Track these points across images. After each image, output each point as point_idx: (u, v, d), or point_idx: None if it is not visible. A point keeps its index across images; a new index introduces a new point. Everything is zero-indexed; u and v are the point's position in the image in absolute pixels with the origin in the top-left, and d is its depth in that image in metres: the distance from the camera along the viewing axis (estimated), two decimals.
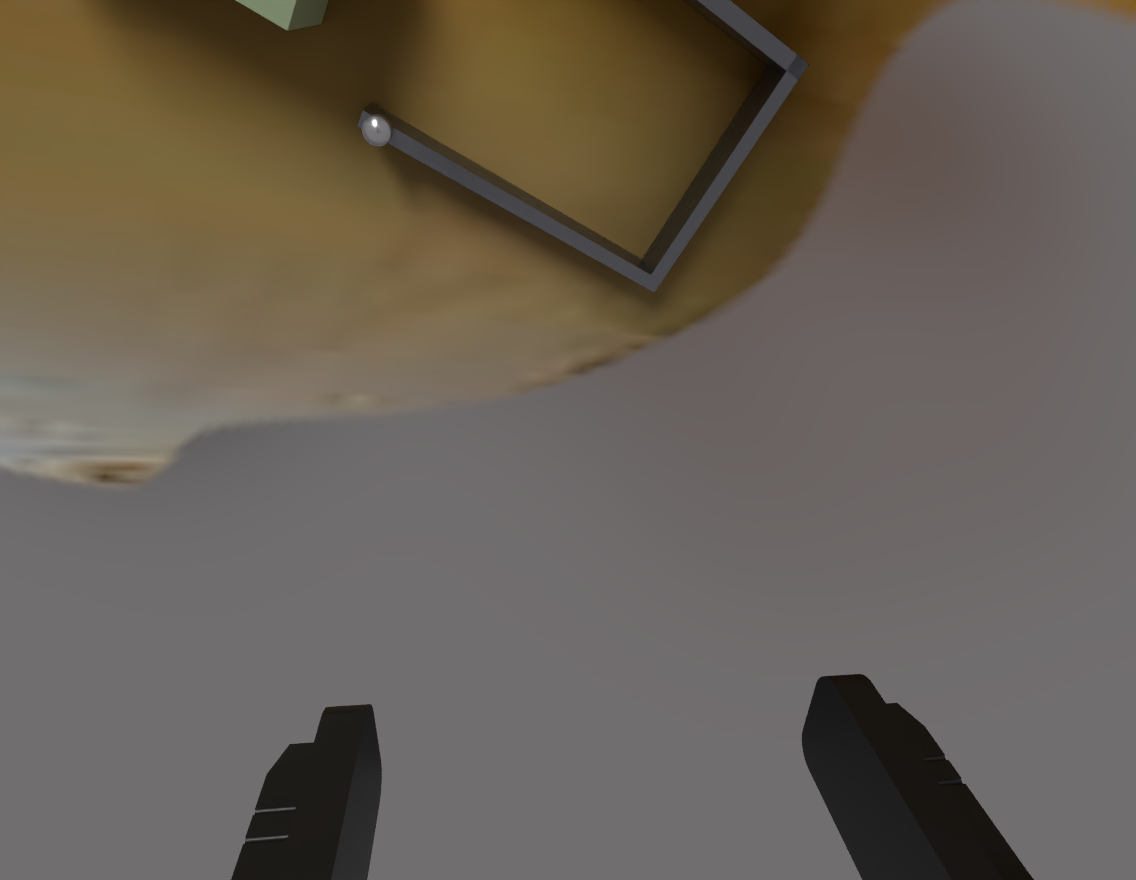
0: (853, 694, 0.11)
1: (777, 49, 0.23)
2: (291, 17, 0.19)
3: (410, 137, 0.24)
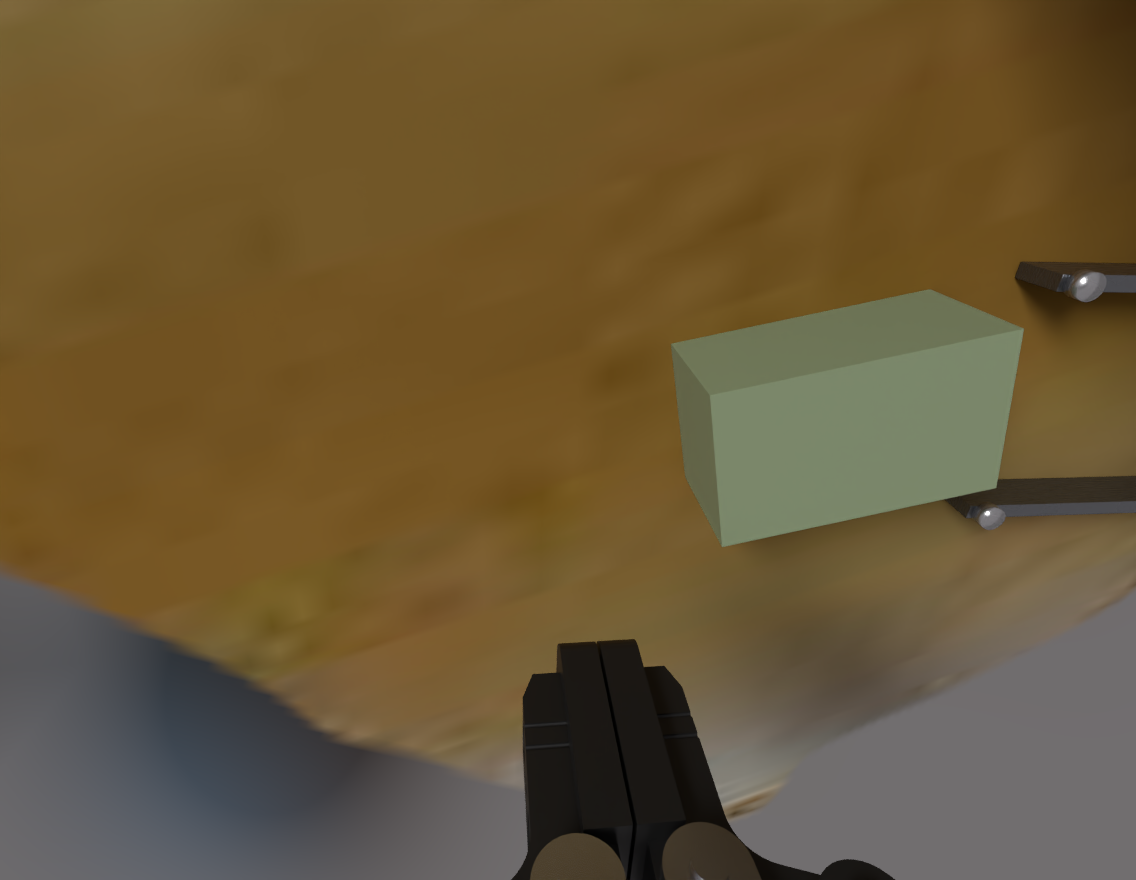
0: (615, 656, 0.11)
1: None
2: (997, 478, 0.22)
3: (1009, 504, 0.27)
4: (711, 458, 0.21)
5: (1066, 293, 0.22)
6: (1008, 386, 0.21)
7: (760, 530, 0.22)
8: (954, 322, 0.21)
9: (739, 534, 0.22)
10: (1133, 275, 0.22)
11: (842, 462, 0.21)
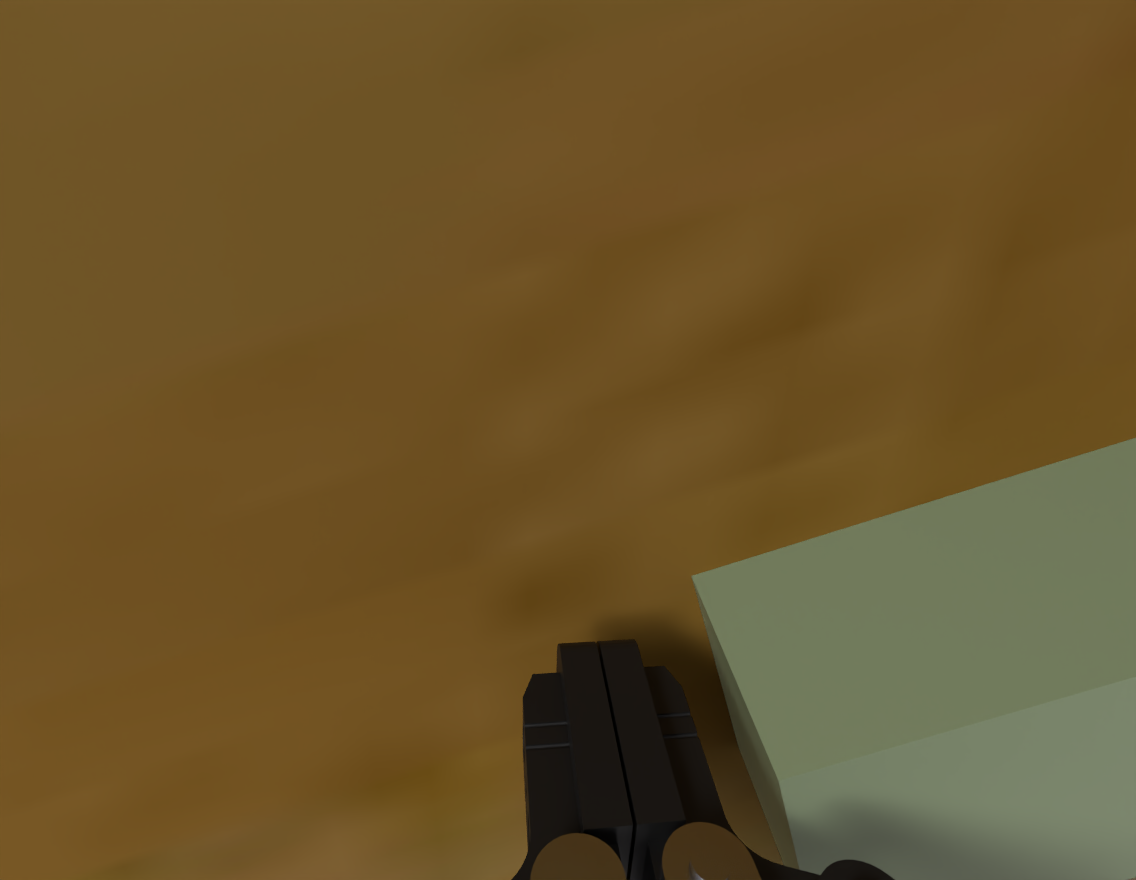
0: (615, 656, 0.11)
1: None
2: None
3: None
4: (789, 841, 0.11)
5: None
6: None
7: None
8: None
9: None
10: None
11: (1051, 830, 0.11)
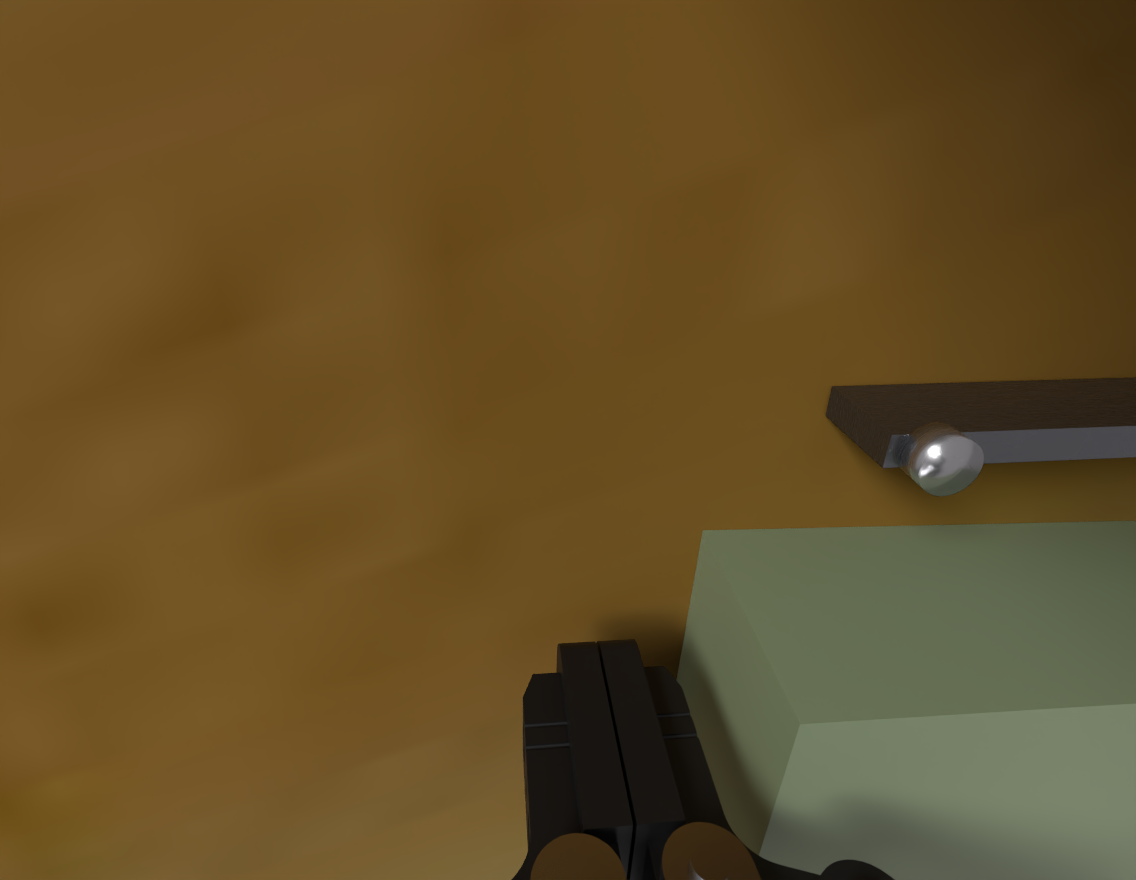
0: (615, 656, 0.11)
1: None
2: None
3: None
4: (754, 804, 0.11)
5: (905, 472, 0.10)
6: None
7: None
8: None
9: None
10: (1051, 428, 0.10)
11: (991, 847, 0.11)
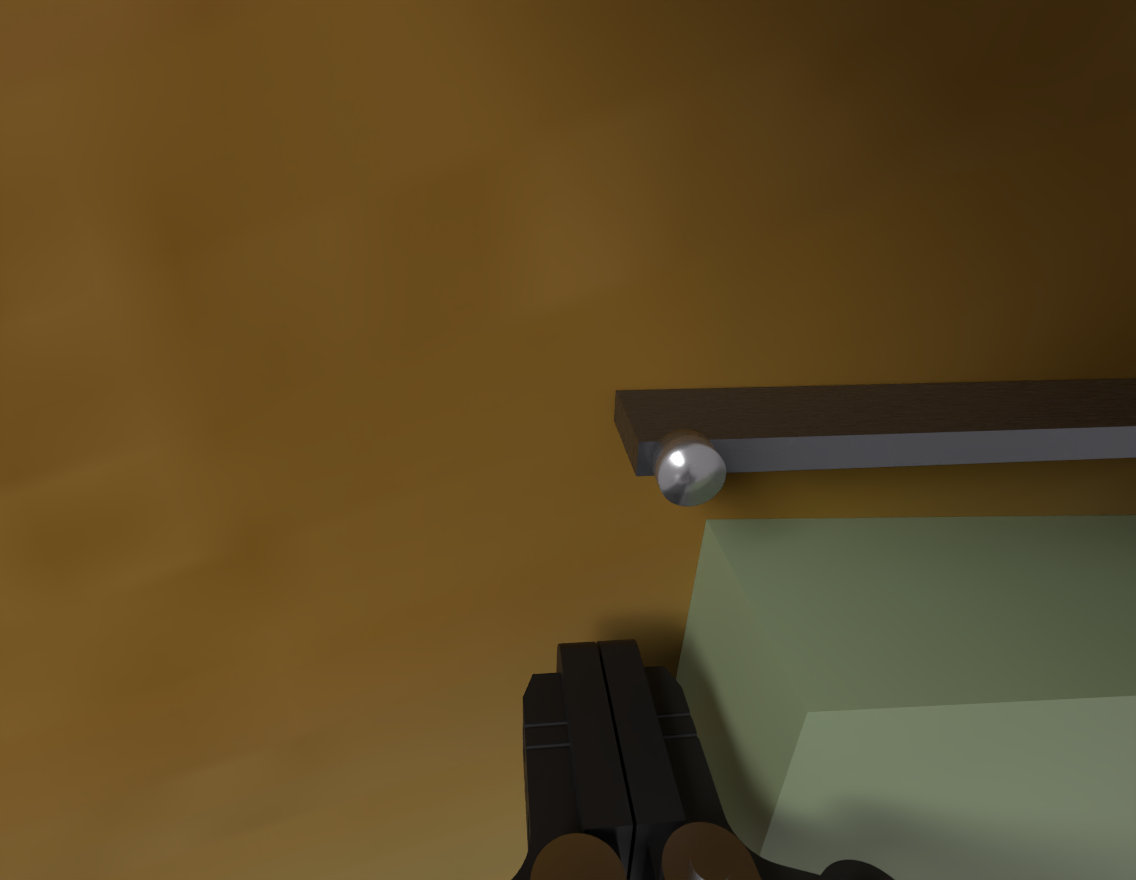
0: (615, 656, 0.11)
1: None
2: None
3: None
4: (758, 796, 0.10)
5: None
6: None
7: None
8: None
9: None
10: (813, 435, 0.10)
11: (996, 841, 0.11)
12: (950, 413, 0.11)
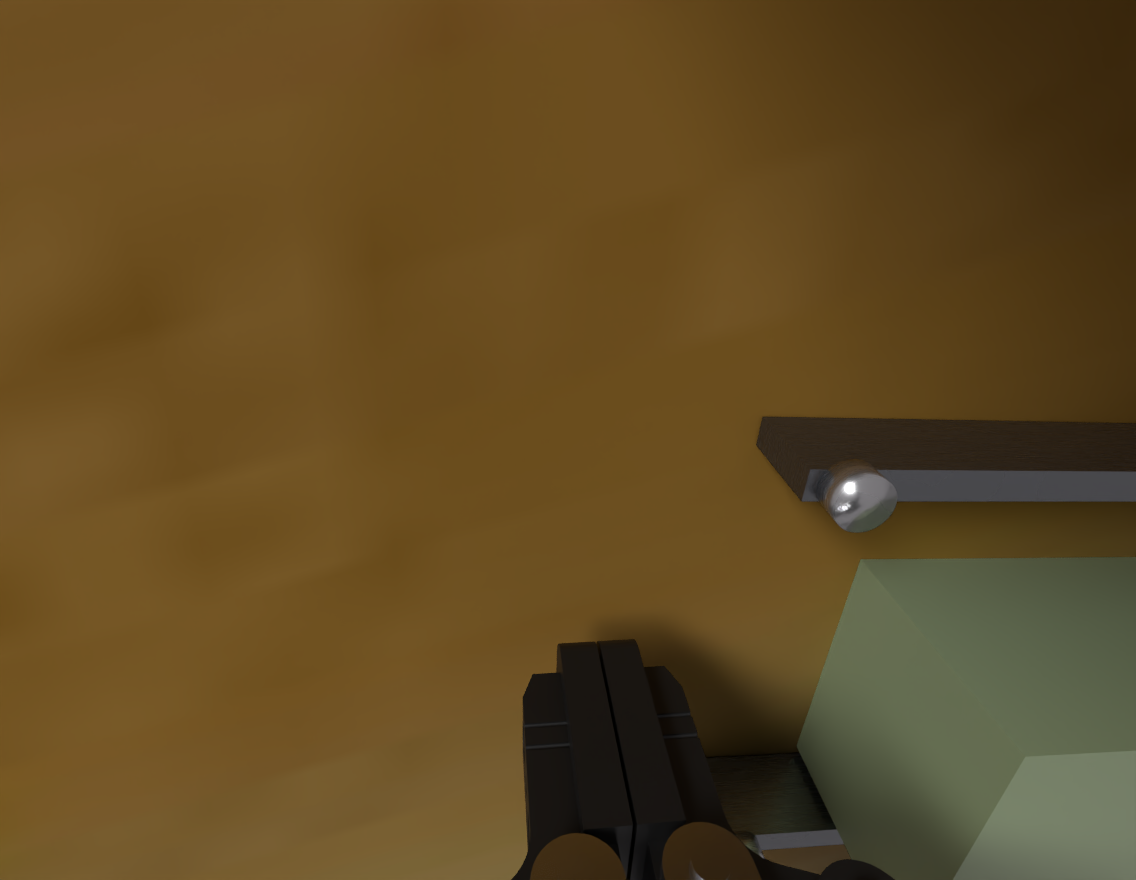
0: (615, 657, 0.11)
1: None
2: None
3: (784, 830, 0.15)
4: (946, 829, 0.11)
5: (823, 506, 0.10)
6: None
7: None
8: None
9: None
10: (968, 469, 0.11)
11: None
12: (1083, 452, 0.11)
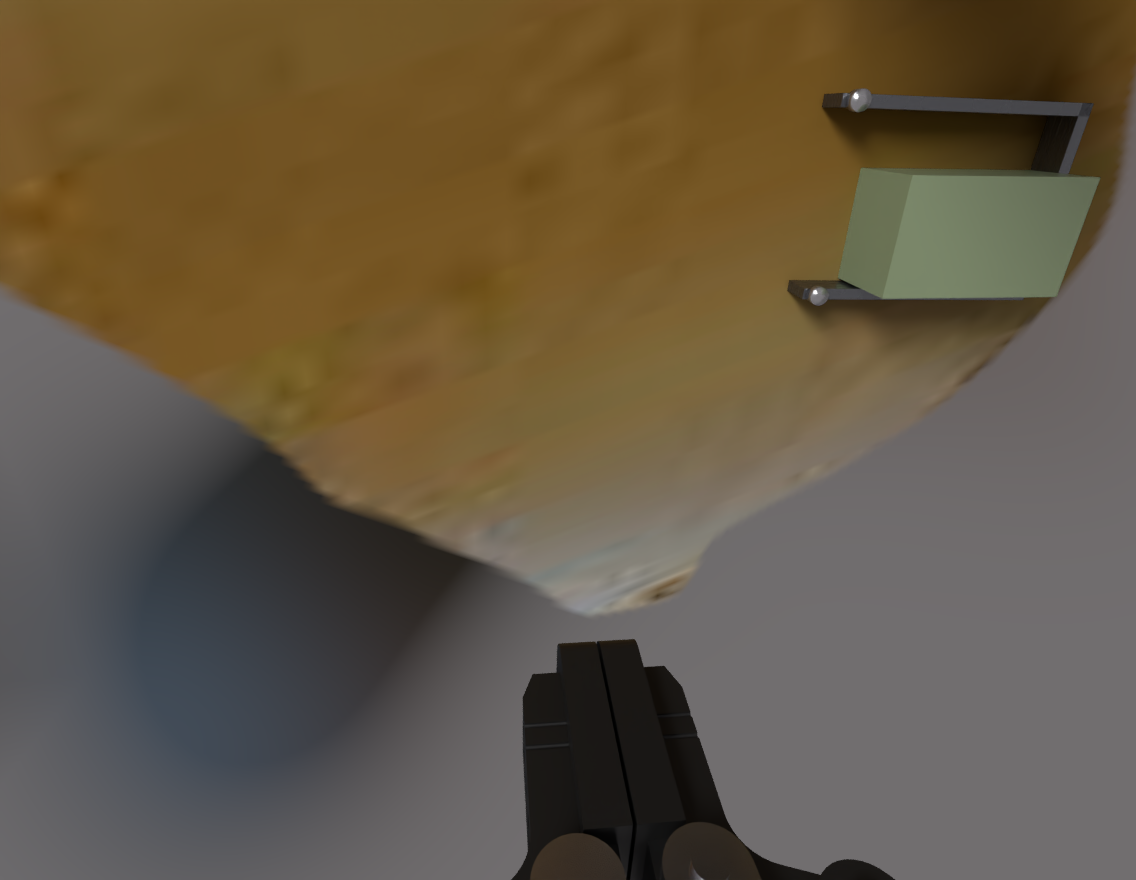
0: (615, 657, 0.11)
1: (1067, 108, 0.33)
2: (1058, 289, 0.34)
3: (834, 288, 0.36)
4: (893, 229, 0.32)
5: (847, 108, 0.31)
6: (1082, 218, 0.33)
7: (909, 291, 0.33)
8: (1054, 174, 0.33)
9: (895, 291, 0.33)
10: (896, 95, 0.32)
11: (973, 250, 0.33)
12: None
